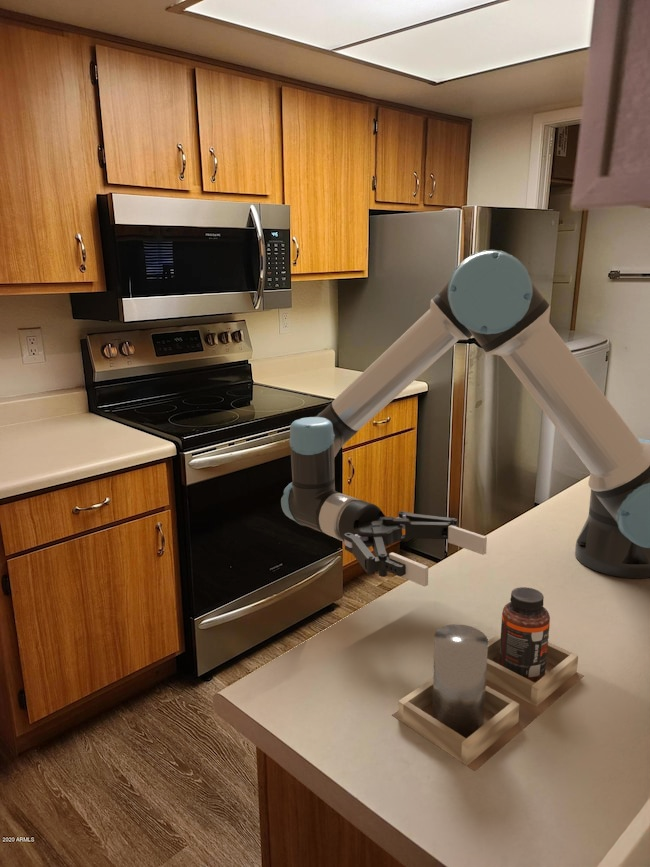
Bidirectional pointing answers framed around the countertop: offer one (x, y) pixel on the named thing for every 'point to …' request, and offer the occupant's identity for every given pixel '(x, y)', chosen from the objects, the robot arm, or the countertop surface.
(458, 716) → the billet
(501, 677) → the wooden divided tray
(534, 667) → the supplement bottle
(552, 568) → the countertop surface
